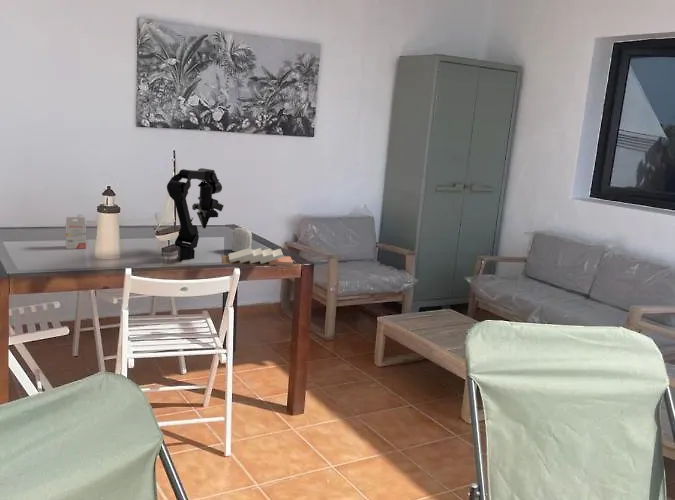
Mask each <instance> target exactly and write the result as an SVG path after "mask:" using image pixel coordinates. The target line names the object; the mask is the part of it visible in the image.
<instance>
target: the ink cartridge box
mask: <svg viewBox="0 0 675 500" xmlns="http://www.w3.org/2000/svg"><path fill="white" fill-rule="evenodd" d="M77 220H78V221H77ZM86 230H87V225H86V217H84V216H82V217H81V216H72V217H71V216H67V217H66V218H65V249H67V250H72V249H73V250H75V249H77V250H78V249H79V250H80V249H82V250H84V249H86V248H87V245H86V243H87V240H86V239H87V237H86V236H87V233H86V232H87V231H86Z"/></svg>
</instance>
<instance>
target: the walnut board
mask: <svg viewBox="0 0 675 500" xmlns="http://www.w3.org/2000/svg"><path fill="white" fill-rule="evenodd" d="M221 264H222V265H237V266H238V265H240V266H244V265H245V266H260V267H261V266H265V267H267V266H268V267H276V265H269V263H268V262H266V263H262V264H261V263H260V261H258V262H255V263H251V264H250V261H247V262H243V263H240V261H235V262H232V263H230V260H229V255H221Z"/></svg>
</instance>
